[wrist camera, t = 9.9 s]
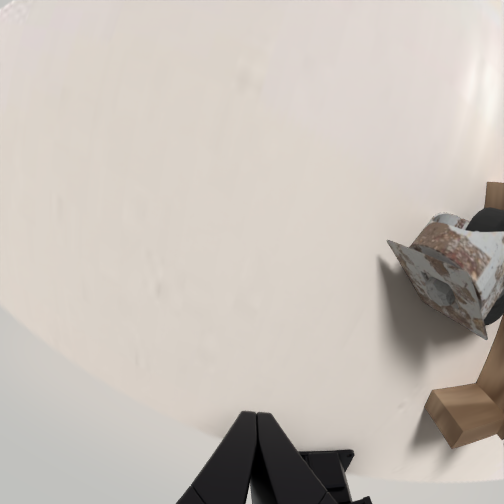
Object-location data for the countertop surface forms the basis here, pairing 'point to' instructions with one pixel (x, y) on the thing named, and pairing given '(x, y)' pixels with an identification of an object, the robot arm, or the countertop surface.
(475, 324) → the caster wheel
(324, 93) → the countertop surface
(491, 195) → the cradle
